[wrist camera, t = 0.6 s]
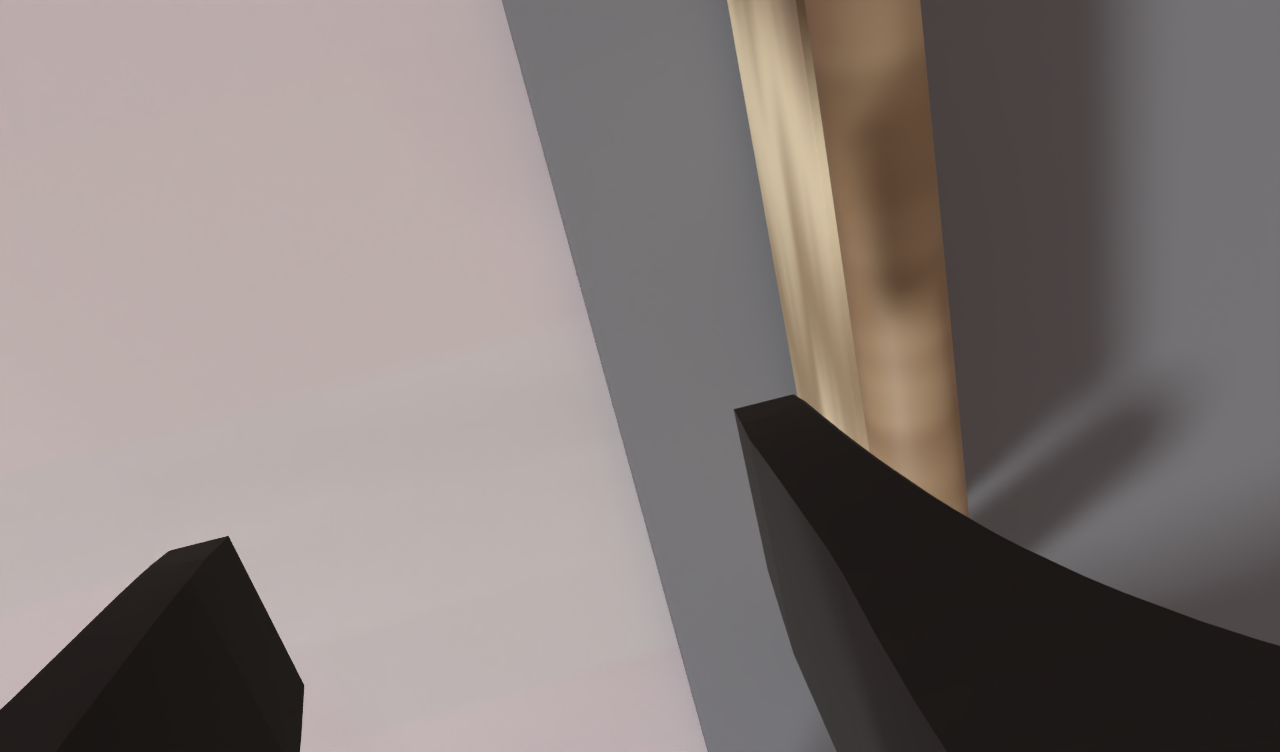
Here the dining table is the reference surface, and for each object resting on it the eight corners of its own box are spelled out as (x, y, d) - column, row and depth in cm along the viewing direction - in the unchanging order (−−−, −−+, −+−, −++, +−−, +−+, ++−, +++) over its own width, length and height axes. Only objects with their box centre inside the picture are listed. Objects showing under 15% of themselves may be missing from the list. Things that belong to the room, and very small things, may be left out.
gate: (903, 584, 23) (1027, 824, 17) (820, 605, 23) (917, 852, 17) (788, -260, 15) (941, -302, 10) (664, -229, 15) (750, -254, 10)
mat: (1684, 550, 26) (1704, 562, 26) (718, 789, 26) (722, 806, 26) (2042, -630, 16) (2086, -643, 15) (443, -220, 16) (441, -221, 15)
